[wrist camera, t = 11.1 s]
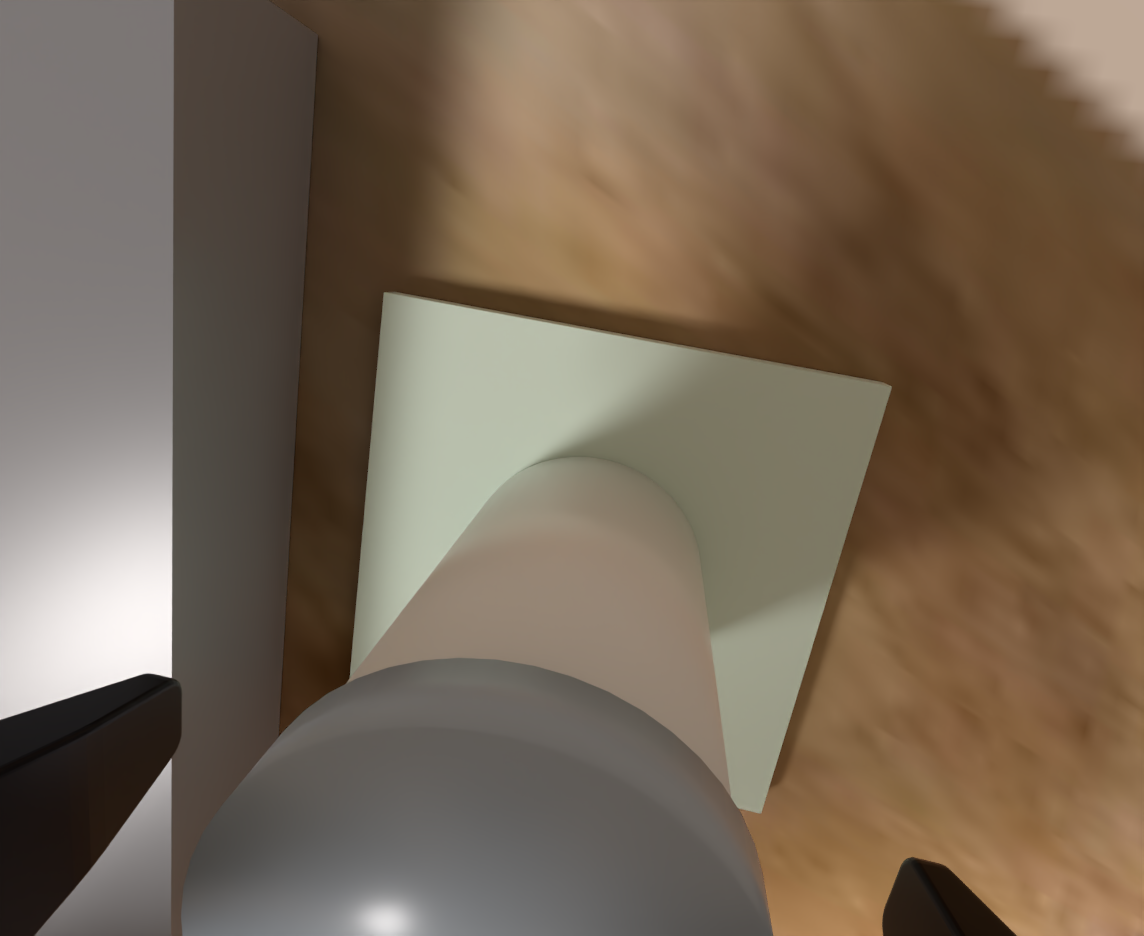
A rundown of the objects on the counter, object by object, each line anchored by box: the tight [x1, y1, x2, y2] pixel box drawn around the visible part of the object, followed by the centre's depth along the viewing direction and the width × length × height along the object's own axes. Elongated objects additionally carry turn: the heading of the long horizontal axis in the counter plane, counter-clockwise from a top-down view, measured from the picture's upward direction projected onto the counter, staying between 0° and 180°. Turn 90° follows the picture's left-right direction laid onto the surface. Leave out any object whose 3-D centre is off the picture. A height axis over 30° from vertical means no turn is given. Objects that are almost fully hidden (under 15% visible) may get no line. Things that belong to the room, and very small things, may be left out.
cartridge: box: [181, 457, 773, 936], centre depth 10 cm, size 5×5×9 cm
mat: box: [350, 292, 892, 814], centre depth 15 cm, size 10×10×1 cm
